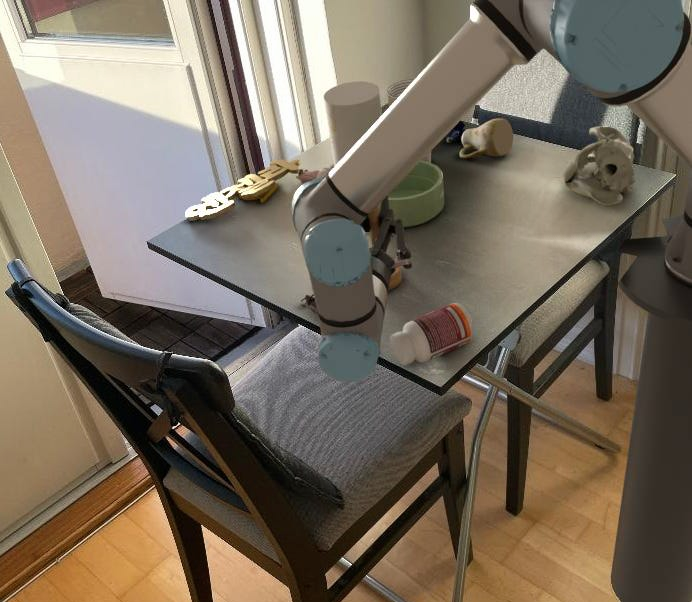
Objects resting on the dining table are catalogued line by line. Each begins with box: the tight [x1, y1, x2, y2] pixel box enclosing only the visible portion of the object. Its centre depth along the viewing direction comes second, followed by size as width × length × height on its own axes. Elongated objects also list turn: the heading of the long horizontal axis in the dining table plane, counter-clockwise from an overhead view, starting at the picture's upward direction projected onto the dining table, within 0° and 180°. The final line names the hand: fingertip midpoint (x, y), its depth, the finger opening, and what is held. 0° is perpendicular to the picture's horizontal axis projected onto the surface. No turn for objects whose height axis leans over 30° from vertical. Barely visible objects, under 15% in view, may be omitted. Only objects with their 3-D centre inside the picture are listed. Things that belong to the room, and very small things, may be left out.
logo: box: [237, 182, 279, 204], centre depth 160 cm, size 7×1×8 cm
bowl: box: [379, 161, 445, 228], centre depth 146 cm, size 14×14×6 cm
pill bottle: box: [389, 302, 475, 366], centre depth 115 cm, size 6×6×11 cm
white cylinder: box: [323, 81, 383, 167], centre depth 157 cm, size 10×10×16 cm
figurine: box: [295, 165, 335, 185], centre depth 154 cm, size 10×6×15 cm
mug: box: [459, 117, 514, 160], centre depth 158 cm, size 8×10×10 cm
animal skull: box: [562, 125, 636, 206], centre depth 142 cm, size 18×12×13 cm
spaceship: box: [444, 120, 466, 144], centre depth 164 cm, size 7×6×5 cm
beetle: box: [300, 293, 318, 315], centre depth 127 cm, size 4×7×3 cm, turn 29°
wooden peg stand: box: [368, 205, 403, 291], centre depth 125 cm, size 6×6×20 cm
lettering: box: [185, 158, 301, 222], centre depth 158 cm, size 25×10×1 cm, turn 123°
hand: (378, 202), depth 128 cm, fingers closed on wooden peg stand, 2 cm apart
